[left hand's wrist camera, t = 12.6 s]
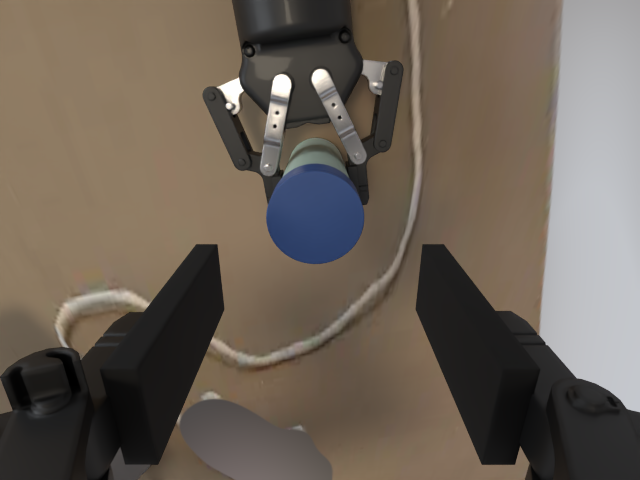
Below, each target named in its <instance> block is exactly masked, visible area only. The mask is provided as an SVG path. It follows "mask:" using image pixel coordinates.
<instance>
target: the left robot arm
mask: <svg viewBox="0 0 640 480" xmlns="http://www.w3.org/2000/svg"><path fill="white" fill-rule="evenodd" d="M223 311H224V301H223V292H222V283H221V274H220V264H219V255H218V246H217V244H196V246H195V247H194V248H193V249H192V251H191V252H190V253H189V255H188V256H187V257H186V258H185V260H184V261H183V262H182V264H181V265H180V266H179V267H178V269H177V270H176V271H175V273H174V274H173V275H172V276H171V278H170V279H169V280H168V282H167V283H166V284H165V285H164V287H163V288H162V289H161V291H160V292H159V293H158V294H157V296H156V297H155V298H154V300H153V301H152V302H151V303H150V305H149V306H148V307H147V309H146V310H145V311H144V312H129V313H128V314H126V315H125V316H123V317H121V318H120V319H118V320H117V321H115V322H114V323H113V324H112V325H111V326H110V327H109V328H108V330H107V331H106V332H105V333H104V334H103V337H101V338H100V339H99V340H98V341H97V342H96V343H95V347H92V348H91V349H90V350H89V351H88V353H87V354H86V355H85V356H84V357H83V358H82V360H80V356H79V353H78V352H76V351H75V350H74V349H71V348H65V347H59V348H49V349H46V350H42V351H39V352H35V353H33V354H31V355H28V356H26V357H24V358H22V359H20V360H18V361H17V362H16V363H14V364H13V365H11V366H10V367H8V368H7V369H6V371H5V372H4V373H3V374H2V375H1V377H0V378H1V381H2V384H3V386H4V389H5V391H6V394H7V396H8V399H9V401H10V404H11V406H12V409H13V411H11V412H7V413H3V414H0V480H138V478H139V477H140V476H141V475H142V474H143V473H144V472H145V471H146V470H147V469H148V468H149V467H150V466H151V465H158V464H159V461H160V459H161V457H162V454H163V452H164V450H165V447H166V445H167V443H168V440H169V438H170V436H171V433H172V431H173V429H174V426H175V424H176V422H177V419H178V417H179V415H180V412H181V410H182V408H183V405H184V403H185V400H186V398H187V396H188V393H189V391H190V389H191V386H192V384H193V382H194V379H195V377H196V375H197V372H198V370H199V368H200V365H201V363H202V361H203V358H204V356H205V354H206V351H207V349H208V347H209V344H210V342H211V340H212V337H213V335H214V332H215V330H216V328H217V325H218V323H219V321H220V318H221V316H222V314H223ZM416 311H417V314H418V316H419V318H420V321H421V323H422V325H423V328H424V330H425V332H426V335H427V337H428V340H429V342H430V344H431V347H432V349H433V351H434V354H435V356H436V358H437V361H438V363H439V365H440V368H441V370H442V372H443V375H444V377H445V379H446V382H447V384H448V386H449V389H450V391H451V393H452V396H453V398H454V400H455V403H456V405H457V408H458V410H459V412H460V415H461V417H462V419H463V422H464V424H465V426H466V429H467V431H468V433H469V436H470V438H471V440H472V443H473V445H474V447H475V450H476V452H477V454H478V457H479V459H480V461H481V464H482V465H515V463H516V459H517V455H518V451H519V448H520V446H521V448H522V450H523V452H524V453H525V455H526V457H527V459H528V461H529V462H530V464H529V467H528V471H527V474H526V478H525V480H640V412H636V411H631V410H628V409H626V407H625V406H624V405H623V403H622V402H621V400H619V399H618V398H617V397H616V396H615V395H613V394H612V393H611V392H610V391H608V390H606V389H604V388H602V387H601V386H599V385H597V384H595V383H592V382H589V381H586V380H583V379H577V378H576V377H575V376H574V375H573V374H572V373H571V371H570V370H569V369H568V368H567V367H566V366H565V365H564V363H563V362H562V361H561V360H560V359H559V358H558V357H557V355H556V354H555V353H554V352H553V351H552V350H551V349H550V347H549V346H548V345H546V344H545V342H544V341H543V339H542V338H541V337H540V336H539V335H537V333H536V331H535V330H534V329H533V328H532V327H531V326H530V325H529V323H528V322H527V321H526V320H524V319H522V318H521V317H519V316H518V315H516V314H514V313H513V312H511V311H495V310H494V309H493V307H492V306H491V305H490V303H489V302H488V301H487V300H486V298H485V297H484V296H483V294H482V293H481V292H480V291H479V289H478V288H477V287H476V285H475V284H474V283H473V282H472V280H471V279H470V278H469V276H468V275H467V274H466V273H465V271H464V270H463V269H462V267H461V266H460V265H459V264H458V262H457V261H456V260H455V258H454V257H453V256H452V255H451V253H450V252H449V251H448V249H447V248H446V247H445V246H444V244H423V246H422V255H421V264H420V274H419V283H418V292H417V301H416Z"/></svg>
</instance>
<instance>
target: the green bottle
mask: <svg viewBox="0 0 640 480" xmlns="http://www.w3.org/2000/svg"><path fill="white" fill-rule="evenodd" d="M316 163H317V164H325V165H329V166H332V167H334V168H336V169H338V170H340V171H341V172H343V173H344V174H345V175H346V176H347V177H348V178H349V176H348V173H347V170H346V167H345V164H344V162H343V159H342V156H341V154H340V152H339V150H338V149H337V147H336V146H335V145H334V144H333V143H331V142H330V141H328V140H325V139H322V138H310V139H307V140H304V141H303V142H301V143H300V144H298V145H297V146H296V147H295V149H294V150H293V152H292V154H291V156H290V159H289V162H288V164H287V167H286V169H285V172H284V175H286V174H287V173H288V172H289V171H291V170H293V169H294V168H297V167H299V166H302V165H306V164H316ZM284 175H283V176H284Z"/></svg>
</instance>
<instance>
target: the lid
mask: <svg viewBox="0 0 640 480" xmlns="http://www.w3.org/2000/svg"><path fill="white" fill-rule="evenodd" d="M266 219H267V227H268V231H269V233H270V236H271V238H272V240H273V241H274V243H275V244H276V246H277V247H278V248H279V249H280V250H281V251H282V252H283V253H285V254H286V255H287V256H289V257H291V258H293V259H295V260H297V261H300V262H304V263H309V264H322V263H327V262H331V261H334V260H336V259H338V258H340V257H342V256H343V255H345V254H346V253H348V252H349V251H350V250H351V249H352V248H353V246H354V245H355V244H356V243H357V241H358V239H359V237H360V235H361V233H362V229H363V225H364V210H363V206H362V202H361V200H360V197H359V195H358V192H357V190H356V187H355V186H354V184H353V182H352V181H351V180H350V179H349V178H348V177H347V176H346V175H345V174H344V173H343V172H341V171H340V170H338V169H336V168H334V167H332V166H329V165H325V164H317V163H316V164H306V165H302V166H299V167H297V168H294V169H293V170H291V171H289V172H288V173H287V174H286V175H284V176H283V177H282V179H281V180H280V181H279V182H278V184H277V185H276V187H275V189H274V191H273V194H272V196H271V199H270V201H269V204H268V208H267V216H266Z"/></svg>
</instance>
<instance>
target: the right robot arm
mask: <svg viewBox="0 0 640 480" xmlns="http://www.w3.org/2000/svg"><path fill="white" fill-rule="evenodd" d="M232 3H233V9H234V14H235V19H236V25H237V30H238V35H239V41H240V46H241V51H242V64H241V68H240V72H239V78H237V79H235V80H232V81H230V82H228V83H225V84H223V85H221V86H218V87H207V88H206V89H205V90H204V91H203V99H204V101H205V103H206V106H207V108H208V110H209V112H210V114H211V116H212V118H213V121H214V123H215V125H216V127H217V129H218V131H219V133H220V136H221V138H222V140H223V142H224V144H225V146H226V148H227V151H228V153H229V155H230V157H231V159H232V161H233V164H234V166H235V167H236V168H237V169H238V170H241V171H244V170H249V171H253V172H257V173H258V174H260V175H261V176H262V178H263V181H264V187H265V192H266V197H267V203H268V204H269V201H270V199H271V196H272V194H273V191H274V189H275V187H276V185H277V184H278V182H279V181H280V180H281V179H282V177H283V175H284V172H283V170H280V166H279V163H280V158H281V153H282V147H283V142H284V138H285V133H286V129H289V128H296V127H299V126H301V125H303V124H306V123H314V124H325V123H330V121H332V123H333V125H334V127H335V129H336V131H337V133H338V135H339V137H340V139H341V141H342V143H343V145H344V147H345V149H346V151H347V156H348V161H347V162H346V170H347V173H348V176H349V179H350V180H351V181H352V182H353V184H354V186H355V187H356V190H357V192H358V195H359V197H360V200H361V202H362V205H366V204H367V203H368V199H369V193H368V181H367V170H366V164H367V161H368V160H369V159H370V158H371V157H372V156H374V155H376V154H378V153H380V152H386V151H387V150H388V149H389V148H390V146H391V141H392V135H393V129H394V123H395V117H396V111H397V105H398V100H399V94H400V88H401V82H402V76H403V66H402V64H401V63H400V62H399V61H389V62H379V61H370V60H363V58H362V56H361V54H360V53H359V51H358V49H357V47H356V45H355V43H354V38H353V30H352V18H351V7H350V0H232ZM361 75H363V76H365V77H366V79H367V81H368V89H369V91H370V92H371V93H373V94H376V100H375V107H374V113H373V120H372V127H371V134H370V136H368V137H366V138H364V139H362V140H360V139H359V137H358V134H357V132H356V130H355V128H354V125H353V123H352V121H351V119H350V117H349V115H348V113H347V111H346V109H345V107H344V106H345V104H346V102H347V100H348V98H349V96H350V94H351V92H352V91H353V89H354V87H355V85H356V83H357V81H358V79H359V77H360V76H361ZM244 92H246V93H247V94H248V96H249V97H250V98H251V99H252V100H253V101H254V102H255V103H256V104H257V105H258V106H259V107H260V108H261V109H262V110H263V111H264V112H265V113H266V114H267V115H268V117H267V123H266V129H265V135H264V145H263V151H262V153H259V152H255V151H253V149H252V147H251V144H250V142H249V140H248V138H247V135H246V133H245V131H244V129H243V126H242V124H241V122H240V120H239V117H238V115H237V113H239V112H240V111H241V109H242V102H241V96H242V94H243V93H244Z"/></svg>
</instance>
